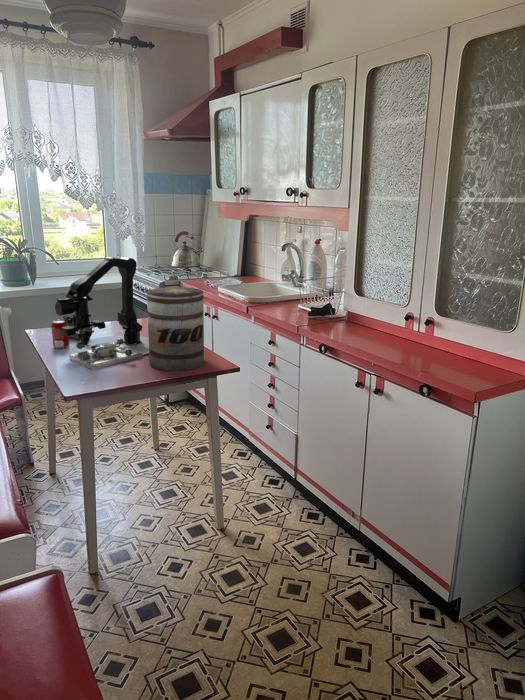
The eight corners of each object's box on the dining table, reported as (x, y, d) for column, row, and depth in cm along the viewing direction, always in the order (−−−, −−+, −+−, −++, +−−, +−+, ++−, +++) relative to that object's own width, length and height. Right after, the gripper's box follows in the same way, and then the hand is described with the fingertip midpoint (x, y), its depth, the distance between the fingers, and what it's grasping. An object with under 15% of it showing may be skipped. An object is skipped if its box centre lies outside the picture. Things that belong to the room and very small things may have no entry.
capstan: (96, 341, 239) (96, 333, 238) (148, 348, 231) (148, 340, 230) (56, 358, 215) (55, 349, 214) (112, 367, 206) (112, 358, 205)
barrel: (181, 375, 206) (180, 299, 197) (138, 365, 216) (134, 293, 208) (214, 360, 225) (214, 290, 216) (172, 351, 235) (171, 285, 226)
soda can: (64, 349, 234) (61, 323, 231) (50, 348, 236) (47, 322, 232) (72, 345, 241) (70, 319, 237) (58, 344, 242) (56, 318, 238)
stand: (119, 348, 238) (119, 343, 238) (142, 357, 227) (142, 351, 226) (69, 359, 222) (69, 353, 221) (92, 369, 210) (91, 363, 209)
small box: (89, 337, 254) (88, 316, 251) (78, 340, 248) (77, 319, 245) (75, 334, 259) (73, 313, 256) (64, 337, 254) (62, 315, 251)
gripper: (90, 305, 236) (93, 339, 240) (51, 312, 222) (55, 348, 227) (104, 309, 229) (107, 343, 233) (65, 316, 215) (69, 353, 220)
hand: (84, 346), depth 228 cm, fingers closed
